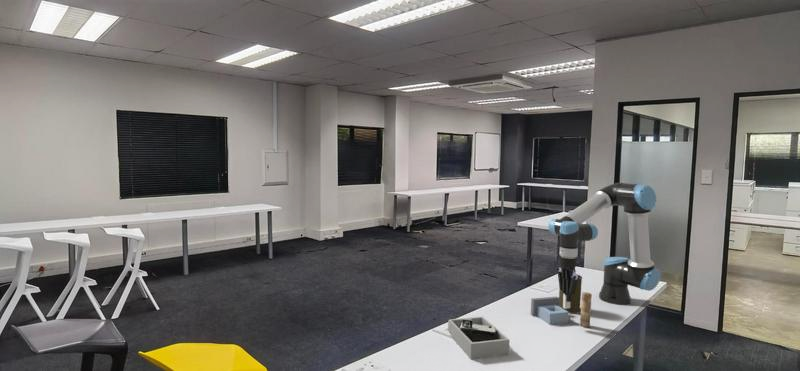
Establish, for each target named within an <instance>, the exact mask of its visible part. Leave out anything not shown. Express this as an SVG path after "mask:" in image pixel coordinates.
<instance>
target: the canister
mask: <svg viewBox="0 0 800 371" xmlns="http://www.w3.org/2000/svg"><path fill="white" fill-rule="evenodd" d="M576 274H577V273H576ZM577 275H579V276H580V277H579V279H578V282H577V286H576V291H575V294H573V295H571V302H570V308H567V309H565V308H563V293H562V290H560V288H558V289H559V292H558V293H559V294H558V298H559V307H561V308H563V309H564V310H566V311H568V312H569V314H572V315H573V314H578V313H581V300H582V283H583V282H582V281H583V276H582V275H580V274H577Z"/></svg>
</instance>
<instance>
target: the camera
mask: <svg viewBox="0 0 800 371" xmlns="http://www.w3.org/2000/svg"><path fill="white" fill-rule="evenodd" d="M462 318H463V317H462ZM466 318H467V317H464V318H463V319H462V324H461V326H460V330H461V331H462V332H463V333H464V334H465V335H466V336H467V337H468V338H469V339H470V340H471V341H472V342H481V341H491V340H496V329H497V327H496V326H494V327H491V326H484V325H477V324H473V325H472V319H466ZM466 321H467V322H466ZM468 321H469V322H470V324H469V323H468ZM464 322H466V325H465V324H464Z"/></svg>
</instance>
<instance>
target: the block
mask: <svg viewBox="0 0 800 371" xmlns="http://www.w3.org/2000/svg"><path fill="white" fill-rule="evenodd" d="M569 316H570V313H569V312H568V311H566V310H564V309H563V308H561V307H559V306H557V305H556V304H553V305H542V306H537V316H536V317H538V318H539V319H540V320H542V321H543V322H545V323H546V324H548V325H559V324H567V323H569V319H570V318H569Z"/></svg>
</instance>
